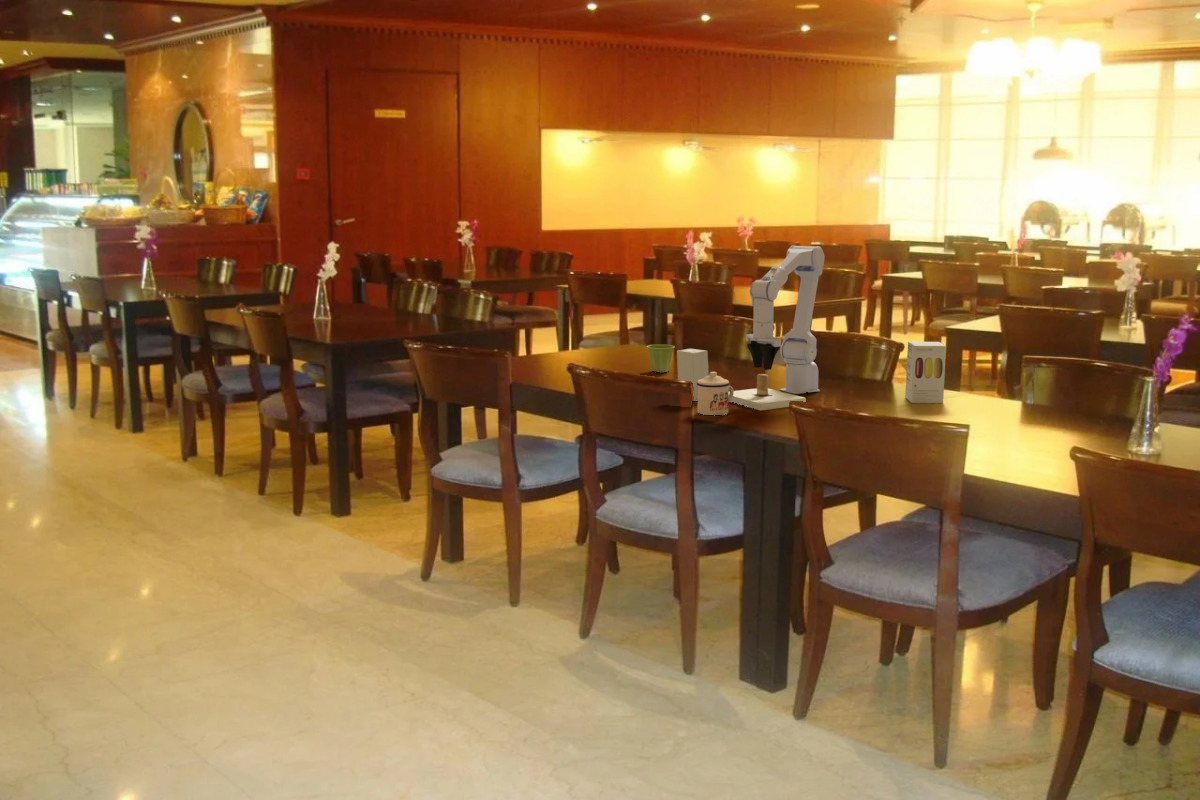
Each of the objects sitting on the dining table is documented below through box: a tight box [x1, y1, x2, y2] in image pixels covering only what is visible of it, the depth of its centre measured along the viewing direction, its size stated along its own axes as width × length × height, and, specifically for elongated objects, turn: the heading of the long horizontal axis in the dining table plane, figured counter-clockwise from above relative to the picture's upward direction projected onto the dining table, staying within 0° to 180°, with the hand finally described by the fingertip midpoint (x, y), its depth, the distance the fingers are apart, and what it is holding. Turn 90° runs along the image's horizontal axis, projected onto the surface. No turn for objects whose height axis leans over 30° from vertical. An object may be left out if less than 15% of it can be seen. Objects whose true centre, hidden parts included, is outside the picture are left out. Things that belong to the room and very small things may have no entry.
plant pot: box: [646, 344, 676, 373], centre depth 406 cm, size 9×9×9 cm
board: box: [729, 387, 807, 411], centre depth 352 cm, size 16×20×2 cm
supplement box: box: [904, 341, 947, 404], centre depth 350 cm, size 10×9×17 cm
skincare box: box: [676, 348, 710, 401], centre depth 356 cm, size 8×6×15 cm
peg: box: [756, 373, 769, 397], centre depth 351 cm, size 3×3×8 cm
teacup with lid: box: [697, 371, 735, 417], centre depth 337 cm, size 12×9×12 cm
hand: (762, 368), depth 350 cm, fingers open, 4 cm apart
